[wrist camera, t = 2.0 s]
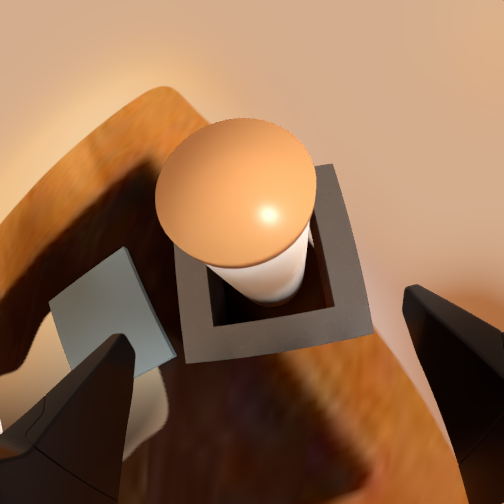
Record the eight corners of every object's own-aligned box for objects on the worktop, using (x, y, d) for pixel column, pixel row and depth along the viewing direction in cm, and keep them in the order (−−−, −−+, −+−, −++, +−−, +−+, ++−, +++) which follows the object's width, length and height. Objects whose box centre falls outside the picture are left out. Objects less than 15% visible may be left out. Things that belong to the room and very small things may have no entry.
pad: (176, 355, 19) (173, 356, 19) (89, 400, 19) (85, 401, 19) (127, 248, 22) (123, 246, 22) (53, 303, 22) (48, 302, 21)
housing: (358, 334, 18) (374, 333, 14) (206, 358, 19) (186, 363, 15) (327, 193, 21) (332, 163, 17) (191, 219, 22) (171, 195, 18)
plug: (295, 316, 19) (295, 282, 7) (227, 298, 20) (133, 241, 8) (312, 248, 20) (328, 130, 8) (246, 233, 21) (187, 113, 9)
